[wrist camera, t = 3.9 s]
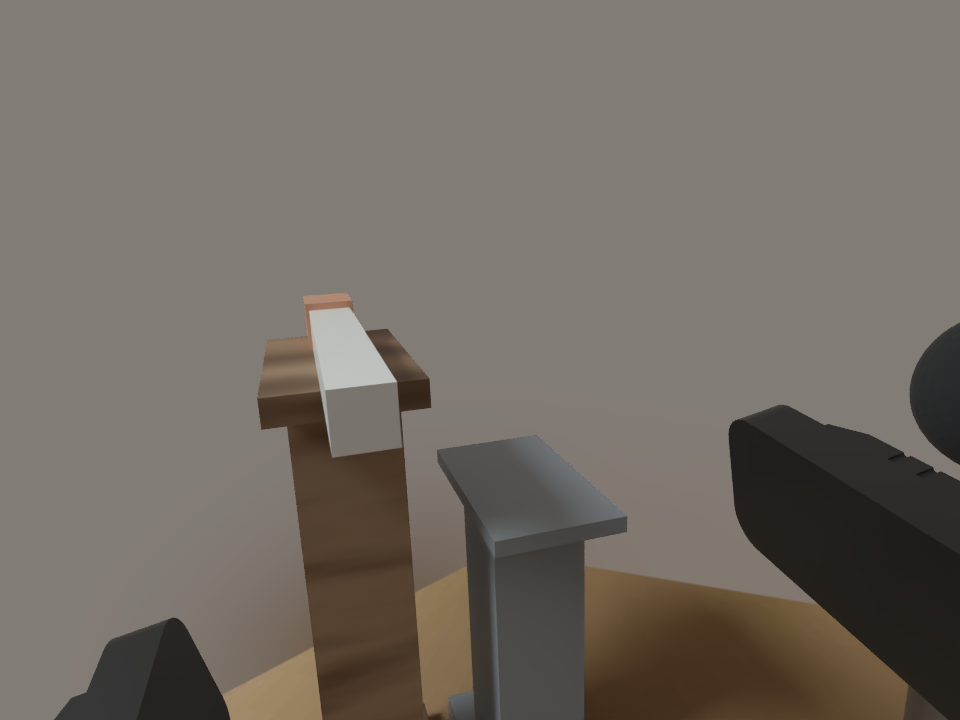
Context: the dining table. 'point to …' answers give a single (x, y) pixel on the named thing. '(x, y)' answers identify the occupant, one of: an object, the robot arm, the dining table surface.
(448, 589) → the dining table surface
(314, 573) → the tall tower
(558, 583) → the grey pedestal column
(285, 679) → the dining table surface
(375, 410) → the white square bar
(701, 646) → the dining table surface
